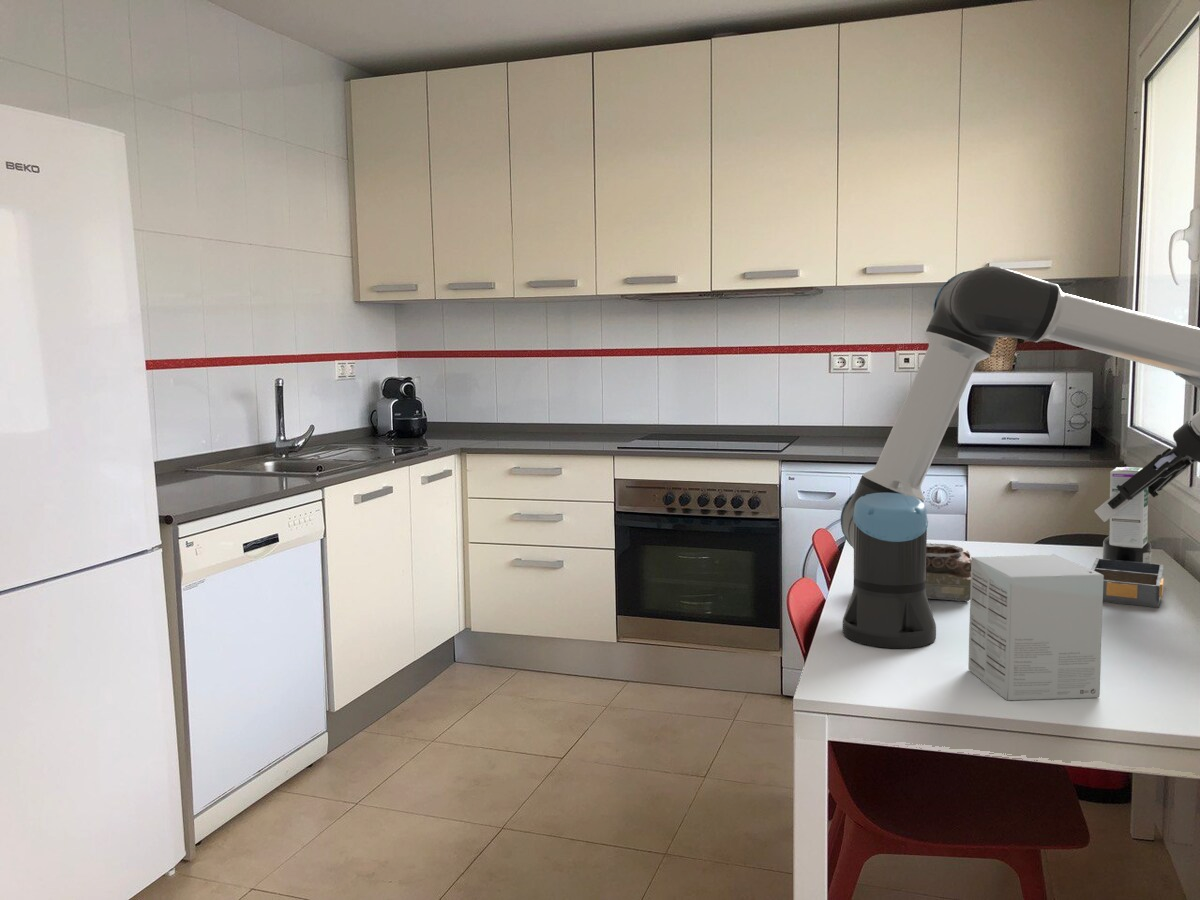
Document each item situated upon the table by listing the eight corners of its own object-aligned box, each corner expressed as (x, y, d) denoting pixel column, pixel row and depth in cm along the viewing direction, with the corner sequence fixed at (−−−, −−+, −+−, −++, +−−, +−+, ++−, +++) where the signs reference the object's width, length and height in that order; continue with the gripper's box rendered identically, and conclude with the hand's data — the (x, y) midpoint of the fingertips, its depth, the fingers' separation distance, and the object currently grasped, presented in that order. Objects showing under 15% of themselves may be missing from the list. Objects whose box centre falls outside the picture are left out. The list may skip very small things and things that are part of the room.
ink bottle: (1158, 577, 195) (1160, 520, 194) (1112, 577, 197) (1114, 520, 195) (1139, 567, 205) (1141, 512, 204) (1095, 566, 206) (1097, 512, 205)
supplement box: (1052, 667, 143) (1056, 553, 142) (1101, 698, 130) (1106, 574, 128) (966, 669, 143) (968, 555, 141) (1006, 701, 130) (1009, 576, 128)
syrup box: (1143, 548, 176) (1145, 471, 174) (1107, 545, 179) (1109, 469, 178) (1147, 543, 180) (1150, 467, 179) (1112, 540, 184) (1115, 466, 182)
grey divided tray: (1161, 608, 173) (1162, 587, 173) (1085, 600, 180) (1085, 579, 179) (1165, 584, 190) (1166, 564, 190) (1095, 577, 197) (1096, 558, 196)
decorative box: (973, 611, 174) (974, 559, 173) (861, 601, 182) (862, 552, 181) (977, 594, 186) (978, 545, 184) (871, 585, 194) (872, 539, 193)
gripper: (1200, 455, 160) (1098, 536, 174) (1244, 445, 172) (1146, 522, 186) (1167, 422, 163) (1070, 504, 178) (1213, 415, 175) (1118, 493, 190)
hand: (1109, 513), depth 182 cm, fingers closed on syrup box, 7 cm apart
